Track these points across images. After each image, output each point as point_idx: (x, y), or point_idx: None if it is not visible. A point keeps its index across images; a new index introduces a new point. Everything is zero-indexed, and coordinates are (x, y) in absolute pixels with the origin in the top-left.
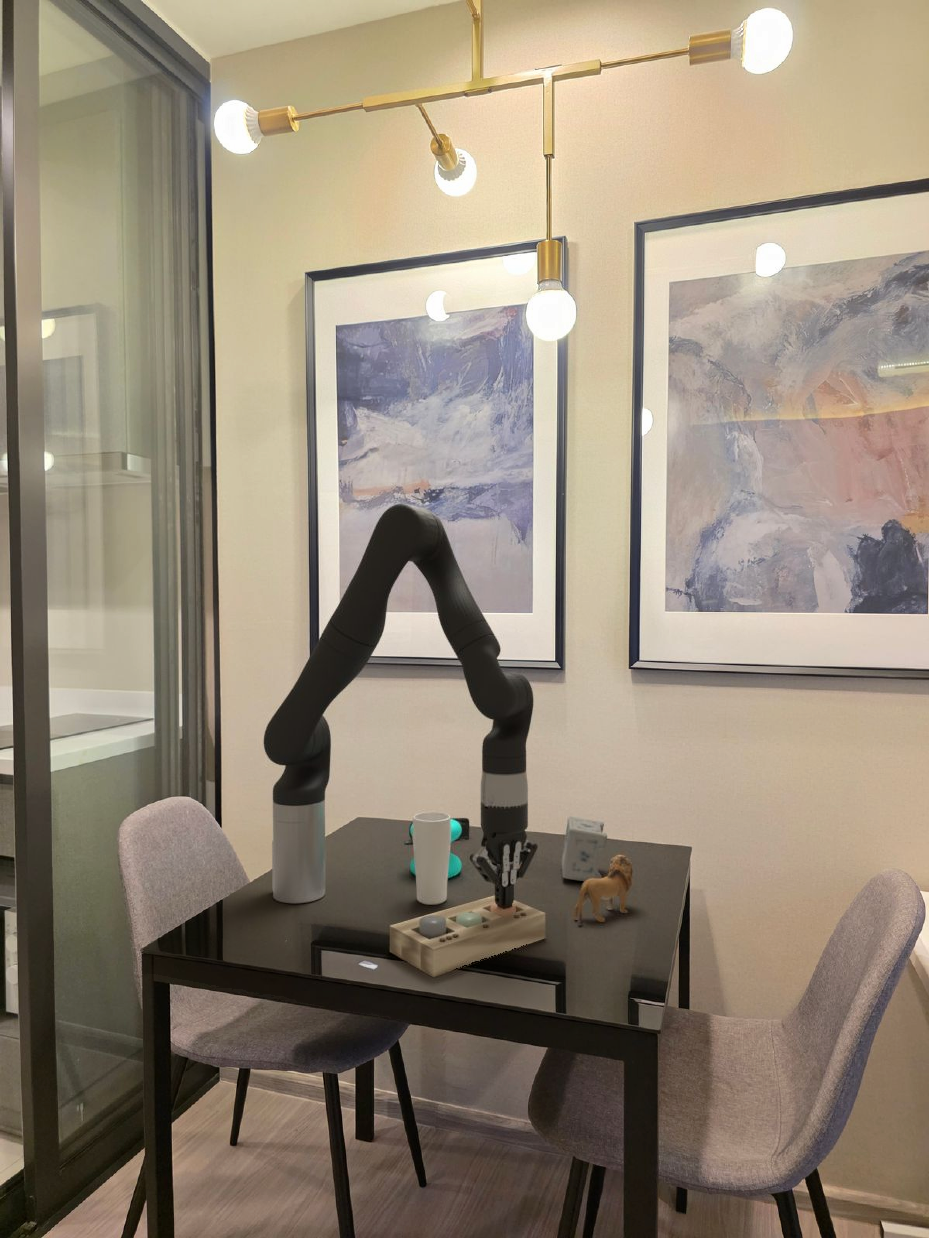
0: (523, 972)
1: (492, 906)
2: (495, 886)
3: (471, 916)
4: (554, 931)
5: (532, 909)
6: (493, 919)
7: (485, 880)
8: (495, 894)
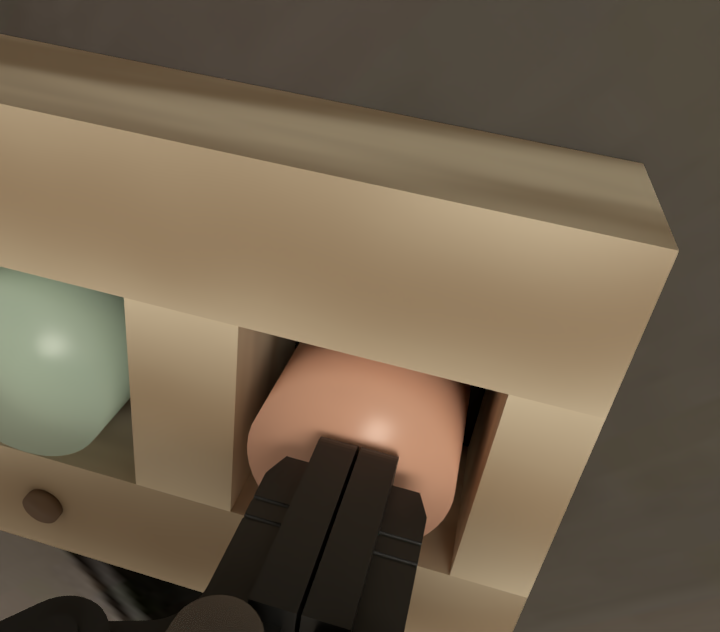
0: (145, 581)
1: (292, 405)
2: (209, 591)
3: (33, 384)
4: (626, 548)
5: (493, 610)
6: (154, 491)
7: (42, 612)
8: (241, 524)
